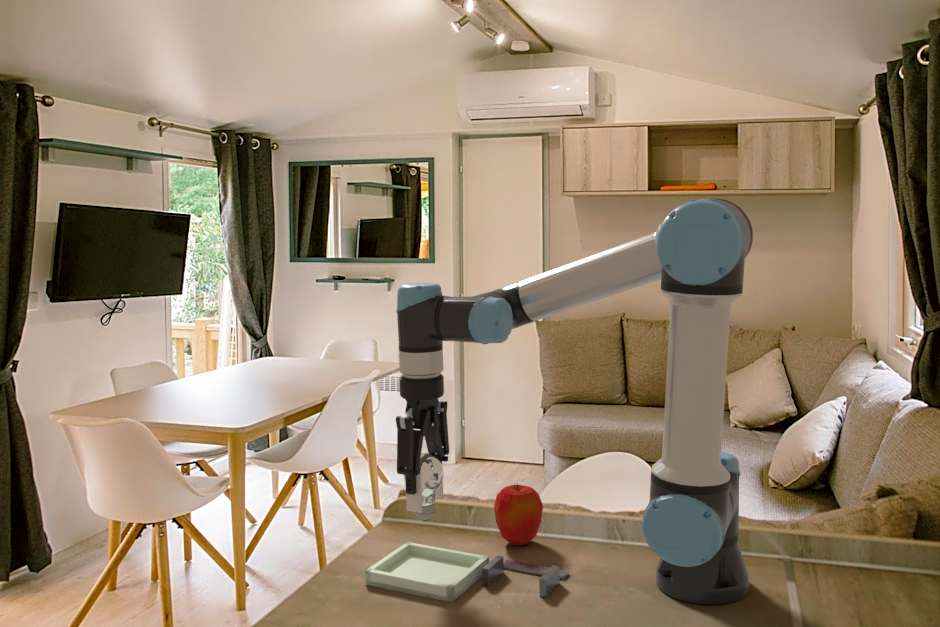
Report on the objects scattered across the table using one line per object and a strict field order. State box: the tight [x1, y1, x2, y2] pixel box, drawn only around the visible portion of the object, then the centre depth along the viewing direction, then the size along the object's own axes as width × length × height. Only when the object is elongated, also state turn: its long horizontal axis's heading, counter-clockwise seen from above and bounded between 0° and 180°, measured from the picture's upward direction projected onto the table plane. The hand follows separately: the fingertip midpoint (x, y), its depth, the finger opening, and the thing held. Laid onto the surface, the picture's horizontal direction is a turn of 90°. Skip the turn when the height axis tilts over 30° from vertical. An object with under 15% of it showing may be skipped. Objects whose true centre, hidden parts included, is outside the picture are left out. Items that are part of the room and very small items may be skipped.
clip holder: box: [481, 555, 570, 598], centre depth 153 cm, size 12×10×3 cm
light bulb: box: [403, 452, 445, 522], centre depth 153 cm, size 7×7×12 cm
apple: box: [493, 482, 544, 546], centre depth 169 cm, size 9×9×12 cm
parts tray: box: [364, 541, 490, 604], centre depth 155 cm, size 17×14×2 cm
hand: (425, 504), depth 154 cm, fingers closed on light bulb, 6 cm apart
